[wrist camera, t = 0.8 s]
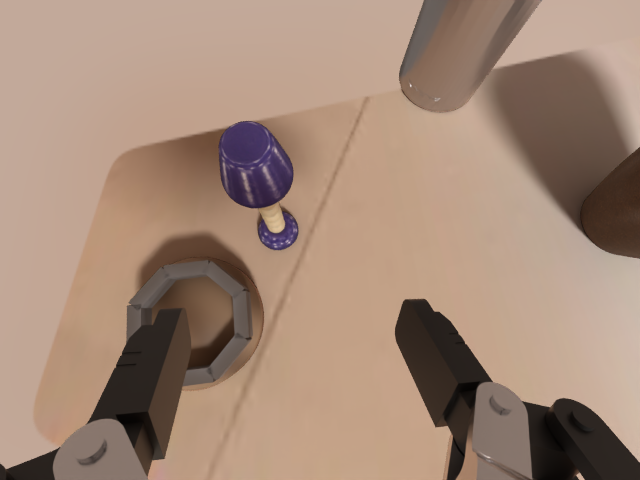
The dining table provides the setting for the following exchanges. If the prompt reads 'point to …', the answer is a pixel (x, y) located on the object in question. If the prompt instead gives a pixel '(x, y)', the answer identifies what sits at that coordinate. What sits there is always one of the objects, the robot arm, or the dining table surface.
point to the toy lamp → (259, 179)
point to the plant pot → (616, 210)
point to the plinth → (205, 315)
